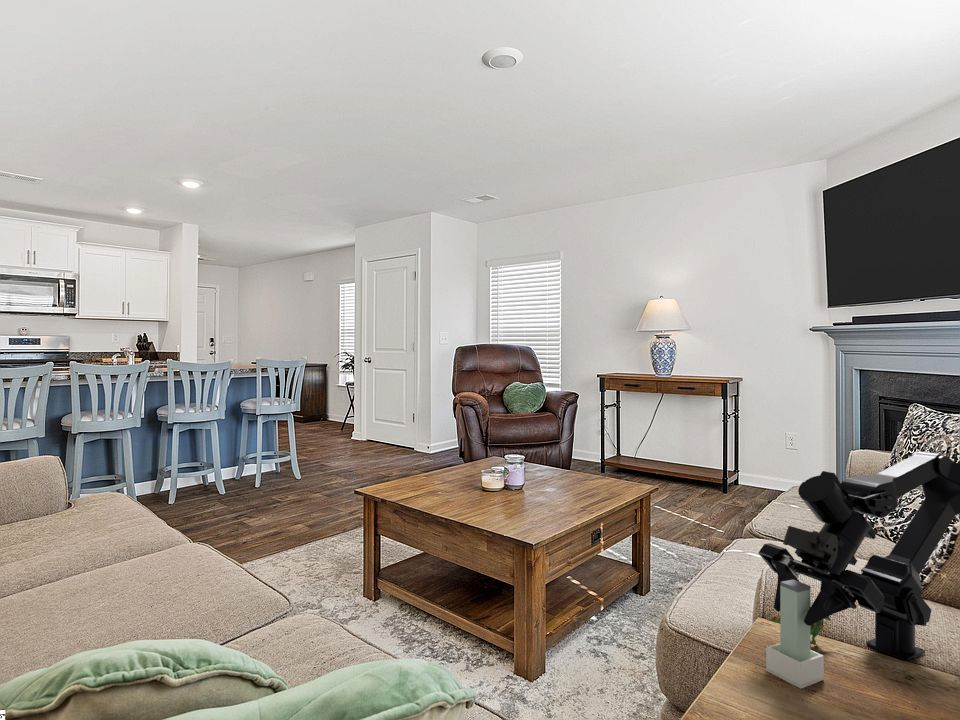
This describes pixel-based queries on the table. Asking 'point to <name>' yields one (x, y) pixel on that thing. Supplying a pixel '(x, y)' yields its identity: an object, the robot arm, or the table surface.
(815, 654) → the ceramic well
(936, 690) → the table surface
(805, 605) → the sage bracket post
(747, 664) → the table surface
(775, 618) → the figurine
